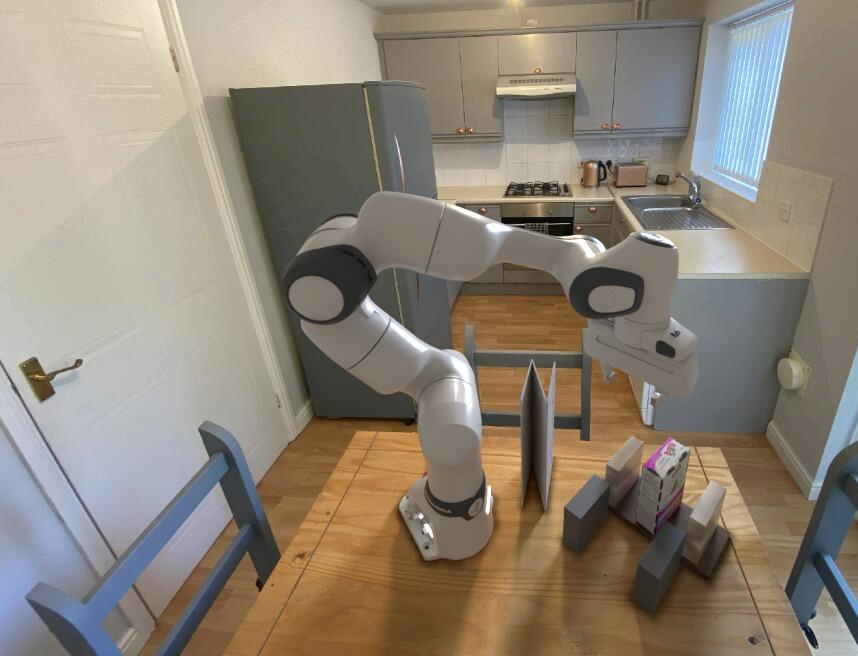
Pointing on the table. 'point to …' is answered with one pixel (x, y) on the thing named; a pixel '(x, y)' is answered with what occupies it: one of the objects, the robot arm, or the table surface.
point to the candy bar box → (662, 484)
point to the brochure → (537, 431)
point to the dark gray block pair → (656, 561)
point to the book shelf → (697, 523)
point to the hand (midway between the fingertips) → (631, 392)
